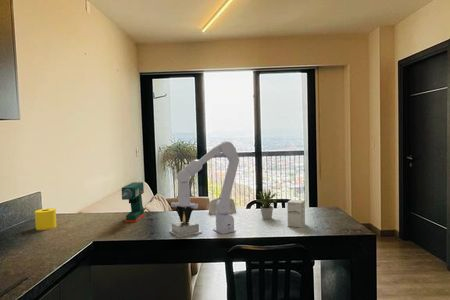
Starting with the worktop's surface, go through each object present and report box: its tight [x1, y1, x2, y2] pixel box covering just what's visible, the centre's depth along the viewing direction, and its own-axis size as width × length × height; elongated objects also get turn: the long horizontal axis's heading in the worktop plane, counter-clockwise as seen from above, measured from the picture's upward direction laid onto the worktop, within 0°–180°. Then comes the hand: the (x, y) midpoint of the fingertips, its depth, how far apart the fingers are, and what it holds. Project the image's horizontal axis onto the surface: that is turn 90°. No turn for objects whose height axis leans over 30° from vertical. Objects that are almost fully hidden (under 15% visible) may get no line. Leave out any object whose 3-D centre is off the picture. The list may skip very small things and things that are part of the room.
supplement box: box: [287, 199, 306, 228], centre depth 177 cm, size 7×7×13 cm
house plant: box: [255, 188, 280, 220], centre depth 193 cm, size 14×14×16 cm
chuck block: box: [168, 219, 203, 238], centre depth 170 cm, size 12×12×4 cm
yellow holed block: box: [34, 207, 57, 231], centre depth 189 cm, size 10×10×9 cm
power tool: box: [121, 181, 146, 223], centre depth 197 cm, size 32×7×20 cm, turn 179°
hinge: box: [208, 198, 237, 216], centre depth 212 cm, size 17×5×10 cm, turn 100°
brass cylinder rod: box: [182, 210, 188, 225], centre depth 170 cm, size 2×2×8 cm
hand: (184, 222), depth 170 cm, fingers closed on brass cylinder rod, 2 cm apart
